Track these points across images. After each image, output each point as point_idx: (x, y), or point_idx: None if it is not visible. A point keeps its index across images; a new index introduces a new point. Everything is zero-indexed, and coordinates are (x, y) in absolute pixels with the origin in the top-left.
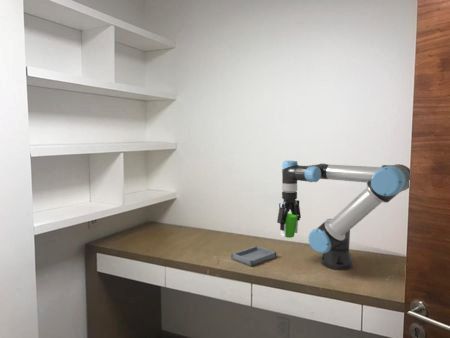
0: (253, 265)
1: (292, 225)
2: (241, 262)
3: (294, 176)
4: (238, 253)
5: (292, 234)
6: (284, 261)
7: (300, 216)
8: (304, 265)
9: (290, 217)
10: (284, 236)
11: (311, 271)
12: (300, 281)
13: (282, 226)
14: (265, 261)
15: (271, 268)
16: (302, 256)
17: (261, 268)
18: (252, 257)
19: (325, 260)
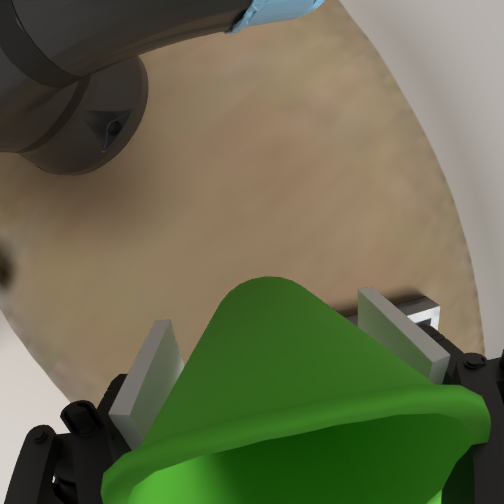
0: (416, 300)
1: (329, 320)
2: None
3: None
4: None
5: (280, 280)
6: (269, 271)
7: (27, 442)
8: (220, 169)
9: (479, 405)
10: (373, 291)
11: (251, 94)
12: (372, 63)
13: (454, 345)
14: (346, 317)
15: (383, 237)
16: (137, 272)
17: (411, 262)
18: None
19: (133, 94)
